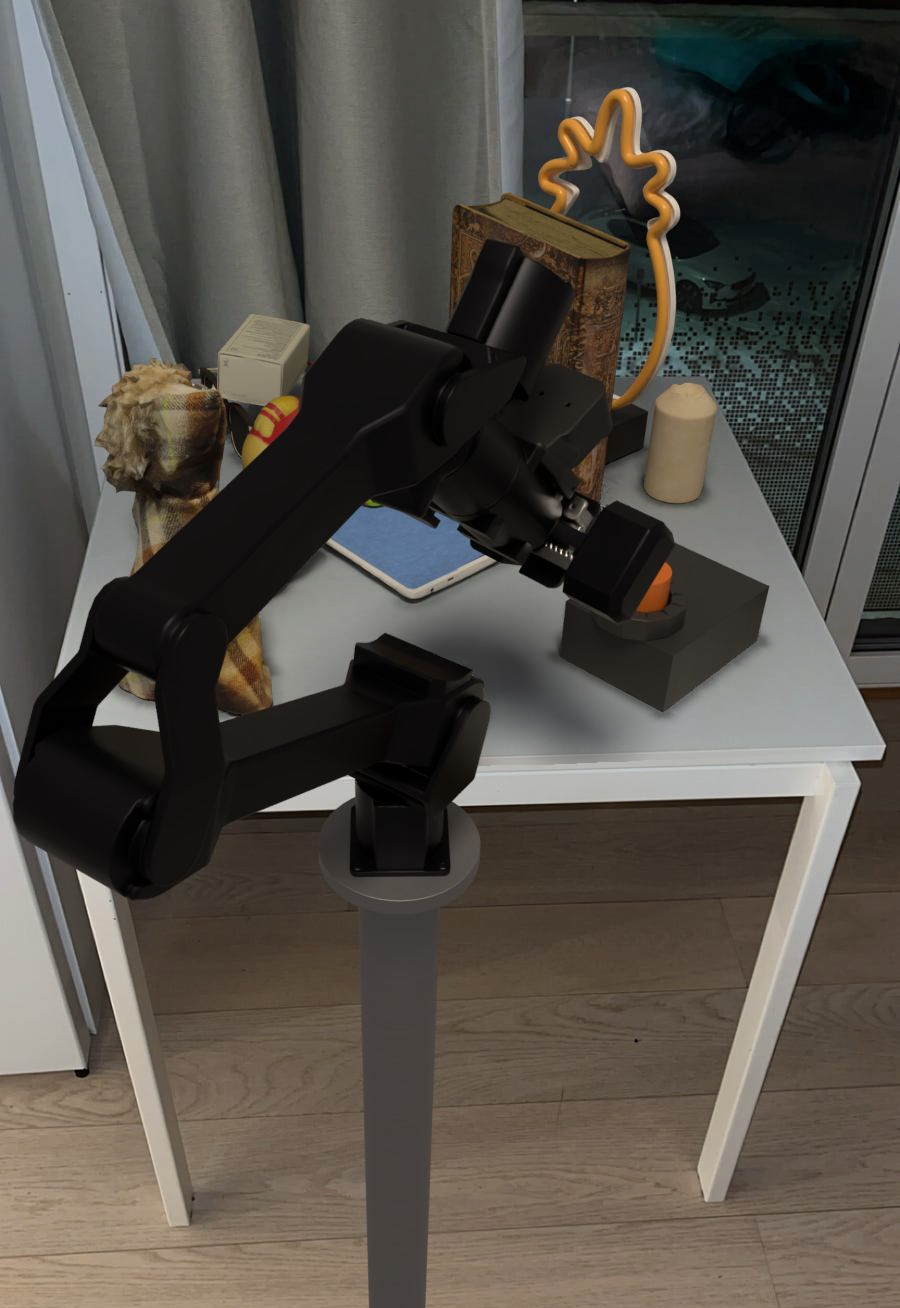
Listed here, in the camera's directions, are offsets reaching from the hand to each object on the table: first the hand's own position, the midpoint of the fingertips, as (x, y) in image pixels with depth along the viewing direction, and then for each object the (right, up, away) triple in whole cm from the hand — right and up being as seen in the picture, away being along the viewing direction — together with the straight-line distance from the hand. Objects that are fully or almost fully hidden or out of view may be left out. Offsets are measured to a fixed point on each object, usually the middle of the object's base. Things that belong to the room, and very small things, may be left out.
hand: (574, 564), depth 86 cm
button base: (+8, -4, +16) cm, 19 cm away
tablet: (-14, +8, +28) cm, 32 cm away
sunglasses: (-23, +21, +42) cm, 53 cm away
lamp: (+5, +19, +41) cm, 46 cm away
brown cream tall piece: (-28, -6, +12) cm, 31 cm away
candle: (+13, +13, +36) cm, 40 cm away
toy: (-24, +17, +31) cm, 43 cm away
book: (-2, +11, +32) cm, 34 cm away
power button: (+6, -1, +10) cm, 11 cm away
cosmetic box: (-25, +30, +42) cm, 57 cm away
